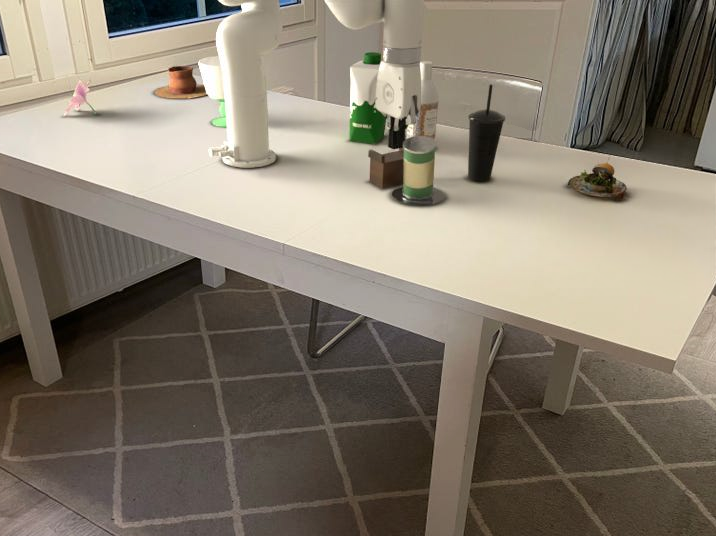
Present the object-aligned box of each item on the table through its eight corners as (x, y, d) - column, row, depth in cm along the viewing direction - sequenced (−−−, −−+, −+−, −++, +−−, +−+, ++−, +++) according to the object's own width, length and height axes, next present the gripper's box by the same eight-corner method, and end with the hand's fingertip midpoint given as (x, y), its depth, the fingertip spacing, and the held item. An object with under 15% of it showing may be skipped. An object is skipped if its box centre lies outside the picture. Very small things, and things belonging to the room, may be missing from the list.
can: (407, 212, 149) (434, 184, 137) (380, 163, 150) (404, 132, 138) (432, 201, 151) (460, 173, 140) (404, 153, 152) (430, 121, 140)
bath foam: (418, 154, 172) (424, 67, 160) (400, 147, 176) (405, 61, 165) (439, 149, 175) (447, 63, 163) (421, 142, 179) (428, 58, 168)
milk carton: (388, 135, 184) (393, 53, 173) (377, 146, 177) (381, 60, 166) (356, 132, 187) (359, 50, 175) (344, 142, 180) (346, 57, 168)
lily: (99, 109, 209) (77, 80, 204) (117, 100, 200) (95, 69, 195) (70, 132, 203) (47, 102, 198) (87, 123, 194) (64, 91, 190)
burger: (555, 186, 154) (562, 152, 149) (598, 179, 157) (606, 145, 153) (593, 206, 144) (601, 170, 140) (638, 197, 148) (647, 162, 144)
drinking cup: (498, 175, 160) (512, 82, 148) (493, 186, 154) (507, 90, 142) (464, 171, 162) (475, 79, 150) (458, 182, 156) (469, 87, 144)
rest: (380, 189, 152) (381, 156, 148) (367, 182, 156) (368, 149, 152) (413, 181, 156) (416, 149, 152) (400, 175, 160) (402, 143, 156)
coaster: (412, 210, 143) (412, 208, 143) (381, 193, 151) (381, 191, 151) (455, 199, 148) (455, 198, 147) (422, 183, 155) (422, 182, 155)
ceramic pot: (146, 97, 216) (142, 73, 212) (165, 83, 231) (163, 60, 227) (202, 100, 214) (200, 75, 210) (219, 86, 228) (217, 62, 224)
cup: (264, 120, 196) (261, 59, 187) (233, 132, 187) (228, 68, 178) (225, 112, 202) (220, 53, 193) (193, 124, 193) (187, 62, 184)
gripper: (364, 51, 144) (361, 141, 154) (409, 64, 134) (403, 160, 144) (394, 47, 147) (390, 135, 158) (440, 60, 137) (432, 154, 147)
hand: (396, 147), depth 151 cm, fingers closed
